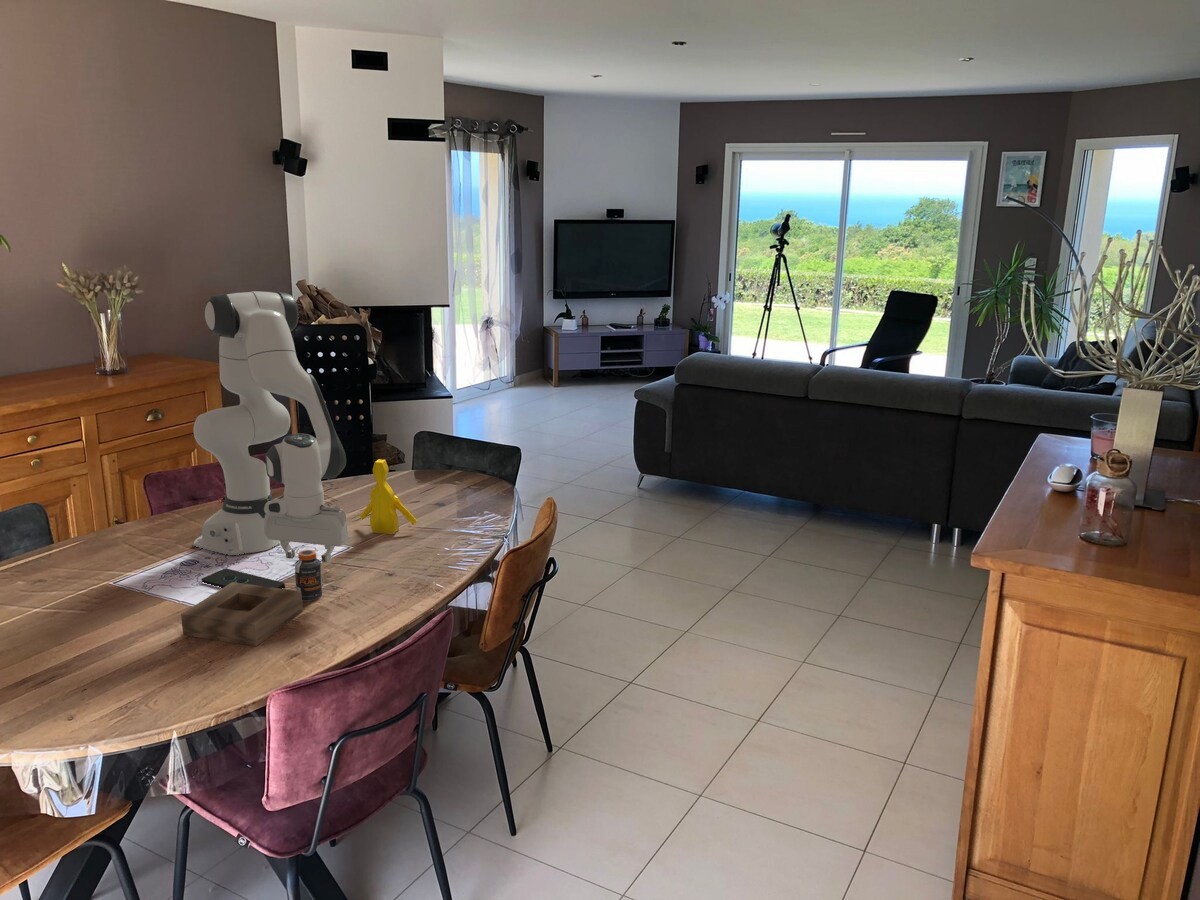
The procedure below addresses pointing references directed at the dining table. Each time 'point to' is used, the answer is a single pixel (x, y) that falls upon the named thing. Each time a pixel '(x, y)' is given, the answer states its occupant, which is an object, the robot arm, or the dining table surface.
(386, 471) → the figure statuette
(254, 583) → the smart home device
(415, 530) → the dining table surface
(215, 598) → the walnut holder
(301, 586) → the pill bottle
